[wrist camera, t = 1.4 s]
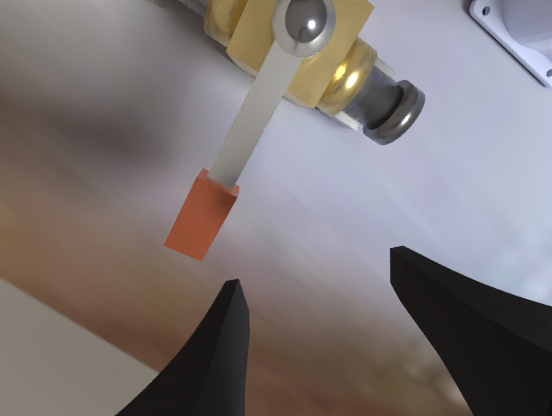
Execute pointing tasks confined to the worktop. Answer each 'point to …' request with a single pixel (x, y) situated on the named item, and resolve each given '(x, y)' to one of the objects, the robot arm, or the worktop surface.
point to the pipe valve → (321, 65)
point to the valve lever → (251, 122)
